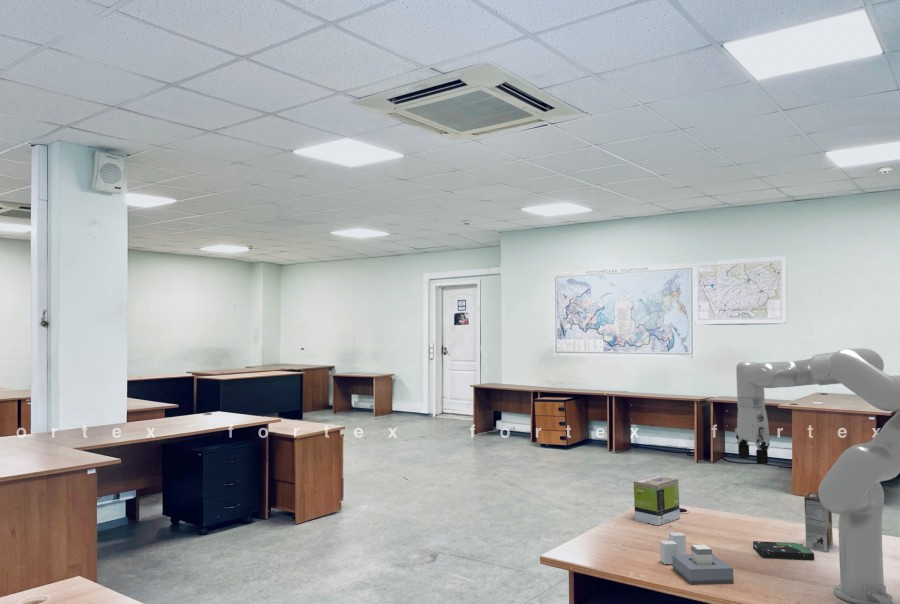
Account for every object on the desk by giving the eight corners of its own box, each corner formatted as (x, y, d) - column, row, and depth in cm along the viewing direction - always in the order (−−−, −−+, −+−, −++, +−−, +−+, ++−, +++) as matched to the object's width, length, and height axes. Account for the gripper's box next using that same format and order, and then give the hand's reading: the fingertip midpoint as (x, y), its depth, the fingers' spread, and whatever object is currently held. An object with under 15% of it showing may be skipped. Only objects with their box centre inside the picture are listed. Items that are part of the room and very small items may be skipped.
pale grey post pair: (697, 564, 193) (696, 543, 193) (664, 565, 192) (664, 544, 192) (681, 552, 204) (681, 532, 204) (650, 552, 203) (650, 533, 203)
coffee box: (811, 541, 214) (809, 491, 215) (833, 545, 210) (831, 494, 211) (805, 548, 207) (803, 497, 208) (828, 552, 203) (826, 500, 204)
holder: (733, 583, 177) (733, 568, 178) (690, 584, 177) (690, 569, 177) (712, 567, 189) (712, 553, 190) (672, 569, 189) (672, 554, 189)
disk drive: (763, 560, 198) (815, 562, 195) (762, 551, 198) (815, 552, 196) (752, 549, 208) (802, 551, 206) (752, 540, 208) (801, 542, 206)
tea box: (656, 513, 249) (655, 474, 250) (680, 519, 241) (679, 478, 242) (633, 520, 239) (633, 480, 240) (658, 526, 232) (657, 484, 233)
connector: (712, 574, 181) (711, 548, 182) (698, 575, 181) (697, 549, 181) (705, 569, 185) (704, 544, 186) (691, 569, 185) (691, 544, 185)
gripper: (779, 405, 188) (782, 465, 187) (747, 400, 206) (748, 455, 205) (755, 406, 188) (757, 466, 187) (724, 400, 205) (726, 455, 204)
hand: (752, 460), depth 196 cm, fingers open, 9 cm apart
